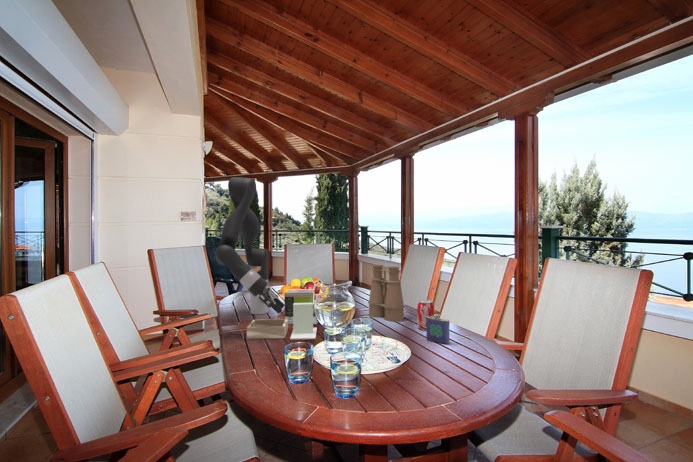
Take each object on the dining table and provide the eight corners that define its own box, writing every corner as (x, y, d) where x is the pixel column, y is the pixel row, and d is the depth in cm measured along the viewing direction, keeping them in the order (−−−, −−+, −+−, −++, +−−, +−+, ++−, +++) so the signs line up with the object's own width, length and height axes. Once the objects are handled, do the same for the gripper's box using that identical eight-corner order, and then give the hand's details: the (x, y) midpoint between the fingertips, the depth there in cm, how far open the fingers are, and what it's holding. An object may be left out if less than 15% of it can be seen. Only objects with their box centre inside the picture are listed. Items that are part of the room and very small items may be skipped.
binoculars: (364, 314, 179) (363, 265, 178) (378, 311, 185) (377, 263, 185) (395, 323, 163) (394, 268, 162) (409, 319, 169) (408, 266, 169)
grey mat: (293, 329, 155) (293, 327, 155) (316, 328, 156) (316, 327, 156) (290, 339, 141) (290, 338, 141) (315, 338, 142) (315, 337, 142)
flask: (450, 343, 135) (450, 315, 135) (447, 345, 133) (447, 316, 132) (428, 338, 141) (428, 311, 140) (424, 340, 138) (424, 313, 138)
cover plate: (294, 331, 150) (293, 303, 150) (313, 330, 151) (312, 302, 150) (293, 333, 147) (293, 304, 147) (312, 333, 148) (312, 304, 147)
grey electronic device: (320, 319, 172) (320, 288, 171) (316, 324, 162) (316, 292, 161) (290, 318, 173) (289, 288, 173) (284, 324, 163) (283, 292, 163)
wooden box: (253, 330, 154) (253, 319, 154) (288, 329, 155) (288, 318, 155) (246, 338, 142) (246, 327, 142) (284, 337, 143) (284, 326, 143)
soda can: (416, 330, 152) (415, 302, 151) (419, 325, 158) (418, 298, 158) (432, 332, 149) (432, 303, 149) (435, 327, 156) (435, 300, 155)
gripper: (256, 278, 141) (286, 306, 141) (263, 273, 155) (290, 299, 156) (243, 292, 140) (272, 320, 141) (251, 286, 155) (277, 311, 155)
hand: (281, 309), depth 148 cm, fingers open, 8 cm apart
